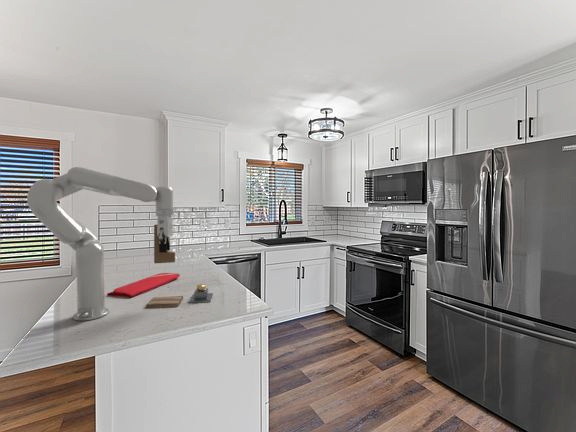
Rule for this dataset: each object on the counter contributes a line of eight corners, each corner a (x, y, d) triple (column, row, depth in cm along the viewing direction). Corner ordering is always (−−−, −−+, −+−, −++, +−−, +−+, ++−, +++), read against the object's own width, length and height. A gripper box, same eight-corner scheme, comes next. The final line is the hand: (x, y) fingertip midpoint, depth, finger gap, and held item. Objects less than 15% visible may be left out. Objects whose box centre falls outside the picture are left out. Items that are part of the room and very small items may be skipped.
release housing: (210, 302, 140) (210, 293, 140) (188, 303, 139) (188, 294, 139) (212, 294, 152) (212, 286, 152) (193, 295, 151) (193, 287, 151)
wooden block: (174, 261, 142) (174, 224, 142) (175, 262, 138) (174, 224, 138) (154, 262, 138) (154, 224, 138) (154, 263, 134) (154, 224, 134)
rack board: (178, 306, 134) (178, 303, 134) (146, 307, 132) (146, 304, 132) (183, 298, 145) (183, 295, 145) (153, 300, 143) (153, 297, 143)
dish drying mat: (106, 296, 150) (105, 289, 150) (159, 277, 190) (159, 272, 189) (131, 299, 146) (131, 291, 146) (180, 279, 186) (180, 273, 186)
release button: (205, 290, 144) (205, 286, 144) (196, 291, 143) (196, 286, 143) (206, 288, 148) (206, 284, 148) (197, 288, 147) (197, 284, 147)
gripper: (168, 213, 129) (168, 254, 130) (176, 212, 146) (177, 248, 147) (150, 213, 128) (150, 254, 129) (161, 212, 145) (161, 248, 146)
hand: (164, 250), depth 138 cm, fingers closed on wooden block, 4 cm apart
